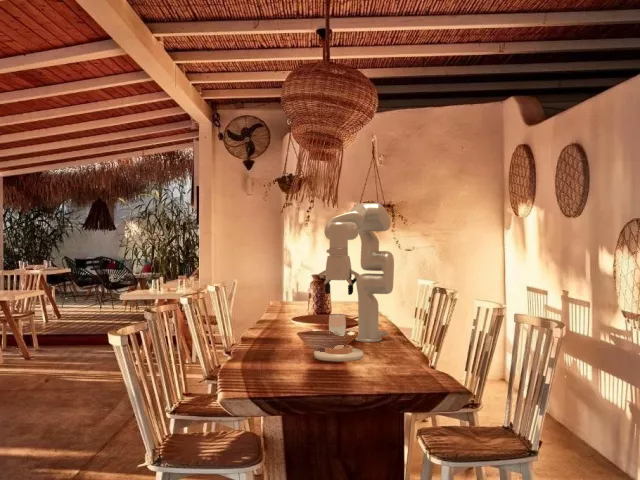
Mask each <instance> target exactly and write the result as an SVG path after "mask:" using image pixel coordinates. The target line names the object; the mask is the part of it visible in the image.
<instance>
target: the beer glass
mask: <svg viewBox="0 0 640 480" xmlns="http://www.w3.org/2000/svg"><path fill="white" fill-rule="evenodd" d="M346 320H347V319H346V314H343V313H332V314H329V317H328V332H329V331H331V332H333V333H334V334H335V335H338V336H344V335H345V336H346V332H347V331H346V329H347V324H346V323H347V321H346ZM344 345H345V344H344ZM344 345H337V346H335V347H334V348H333V349H345V348H344Z"/></svg>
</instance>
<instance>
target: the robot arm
mask: <svg viewBox="0 0 640 480" xmlns="http://www.w3.org/2000/svg"><path fill="white" fill-rule="evenodd" d="M391 221H392V220H391V217H390V215H389V213H388V212H387V210H386V208H385V206H383V205H382V204H381V203H379V202H362V203H361V202H360V203H357V204H356V205H354V206H353V207H352V208H351V210H349V212H346V213H343V214H340V215H336V216H334V217H332V218H330V219H329V221H327V223H326V225H325V226H324V231H323V232H324V236H325V237H326V239H327V240H329V248H328V249H326V253H327V254H328V255H327V257H326V263H325V270H323V271H321V272H319V273H318V276H319V278H320V280H321V282H322V283H323V285H324V291H325V294H326V295H329V294H331V284H330V282H331V281H346V282H347V283H348V285H347V295H349V296H351V295H352V294H353V293H354V284H356V292H357V302H358V307H357V308H358V309H357V311H358V312H357V313H358V314H357V315H358V316H357V317H358V320H357V321H358V328H357V329H358V331H357V332H358V334H357V335H358V336H355V337H356V338H355V337H354V339H355V340H354V341H356V342H363V343H377V342H380V341H383V338H382V336H388V334H389V333H388V331H387V330H385V331H383V330H382V331H381V330H379V302H378V299H377V298H376V296H375V295H389V294H391V293H392V292H393V289H394V278H395V277H394V275H395V274H394V273H395V272H394V271H395V258H394V255H393V253H392V252H391V251H388V250H380V240H379V238H378V237H377V235H376V234H375V233H374V232H387V231H389V229H390V228H391V224H392V223H391ZM358 236H359V238H360V243H361V245H360V246H361V247H360V248H361V249H360V268H361V269H362V270H364V271H368V272H382V273H362V274H360V273H358V272H356V271H355V270H353V269H352V263H351V257H350V255H349V241H351V240H355V239H356V238H357V237H358ZM324 275H325V276H324ZM352 276H353V279H352Z"/></svg>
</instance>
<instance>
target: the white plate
mask: <svg viewBox="0 0 640 480" xmlns="http://www.w3.org/2000/svg"><path fill="white" fill-rule="evenodd" d="M345 345H346V346H344V348H345V349H332V348H325V347H324V348H325V352H320V351H316V350H317V349H316V350H314V351H313V357H314V359H317V360H318V361H325V362H353V361H354V362H355V361H357V360H362V359H363V358H364V351H363V350H362V349H359V348H355V347H353V346H352V345H350V344H345Z"/></svg>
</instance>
